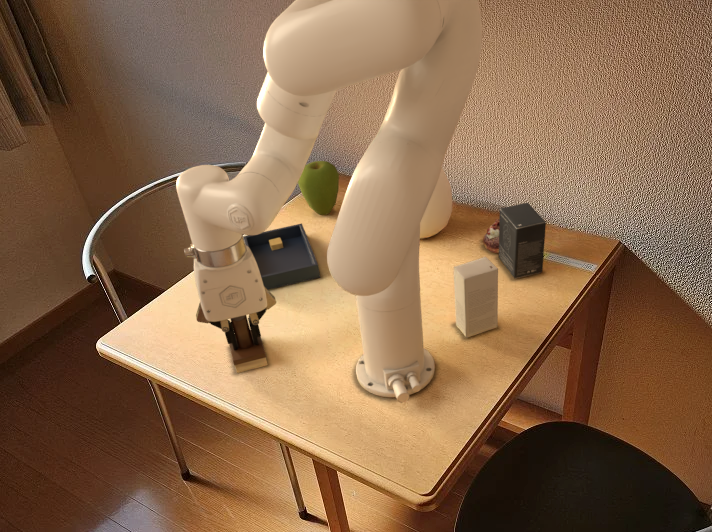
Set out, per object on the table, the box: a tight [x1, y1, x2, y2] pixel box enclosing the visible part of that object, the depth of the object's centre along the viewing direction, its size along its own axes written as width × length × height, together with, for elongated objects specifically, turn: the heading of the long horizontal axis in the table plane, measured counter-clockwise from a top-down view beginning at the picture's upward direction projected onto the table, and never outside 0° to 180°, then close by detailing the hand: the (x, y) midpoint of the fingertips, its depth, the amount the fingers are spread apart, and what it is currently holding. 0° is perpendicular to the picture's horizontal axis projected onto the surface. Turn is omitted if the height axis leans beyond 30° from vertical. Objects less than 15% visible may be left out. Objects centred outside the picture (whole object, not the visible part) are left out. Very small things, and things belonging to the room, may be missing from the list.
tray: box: [243, 223, 321, 291], centre depth 144 cm, size 16×12×3 cm
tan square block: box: [269, 237, 283, 251], centre depth 148 cm, size 2×2×1 cm
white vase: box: [420, 167, 453, 240], centre depth 145 cm, size 13×13×14 cm
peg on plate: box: [228, 315, 269, 374], centre depth 122 cm, size 7×5×9 cm
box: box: [498, 202, 547, 279], centre depth 133 cm, size 8×6×11 cm
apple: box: [297, 160, 340, 216], centre depth 154 cm, size 9×8×12 cm
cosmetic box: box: [453, 256, 499, 339], centre depth 120 cm, size 6×4×12 cm
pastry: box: [482, 218, 500, 254], centre depth 140 cm, size 8×8×5 cm
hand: (245, 341), depth 123 cm, fingers closed
